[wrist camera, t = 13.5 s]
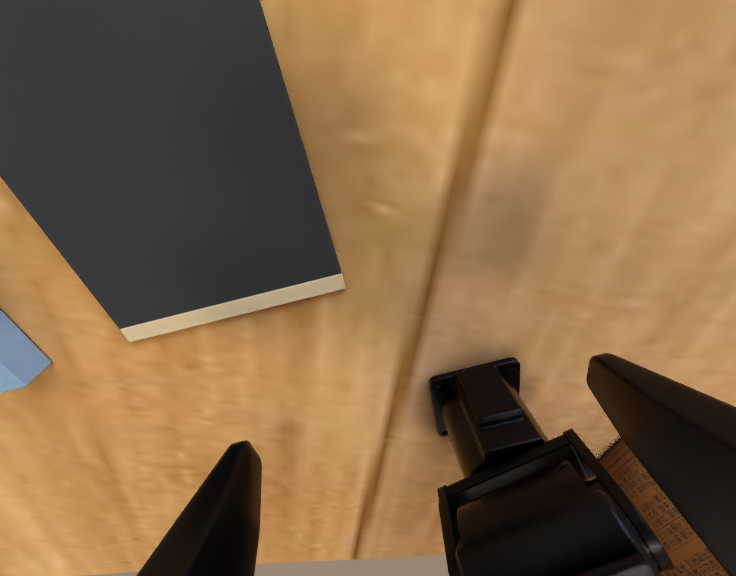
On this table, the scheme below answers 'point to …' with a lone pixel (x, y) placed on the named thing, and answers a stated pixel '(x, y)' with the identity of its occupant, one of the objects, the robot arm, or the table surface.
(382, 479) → the table surface
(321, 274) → the dark gray flat panel
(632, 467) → the pancake mix bag
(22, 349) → the scoop
